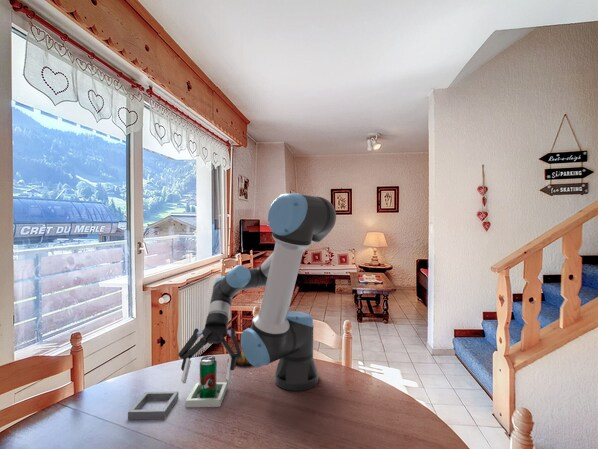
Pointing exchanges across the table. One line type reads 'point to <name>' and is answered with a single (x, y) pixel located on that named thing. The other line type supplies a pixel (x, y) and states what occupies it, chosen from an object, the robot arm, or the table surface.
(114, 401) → the table surface
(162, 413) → the socket upper
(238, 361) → the croissant
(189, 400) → the socket lower
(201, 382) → the soda can
